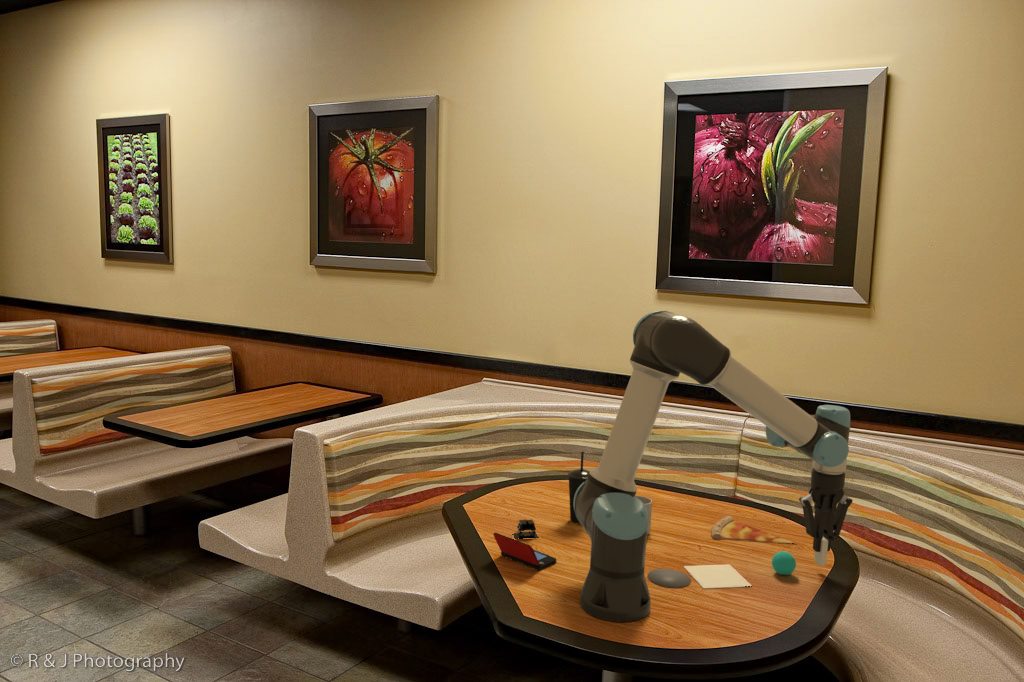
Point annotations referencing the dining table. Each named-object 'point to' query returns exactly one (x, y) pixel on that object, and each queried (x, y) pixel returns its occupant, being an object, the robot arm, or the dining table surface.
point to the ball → (783, 563)
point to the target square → (717, 576)
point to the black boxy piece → (525, 526)
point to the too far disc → (669, 578)
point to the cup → (649, 509)
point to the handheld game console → (523, 553)
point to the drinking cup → (576, 486)
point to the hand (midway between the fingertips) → (820, 563)
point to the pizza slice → (741, 532)
